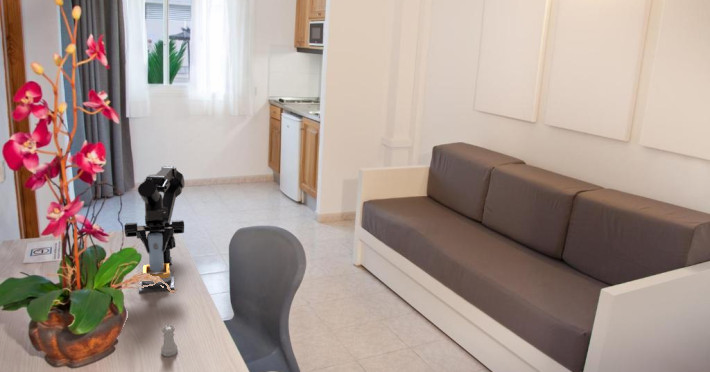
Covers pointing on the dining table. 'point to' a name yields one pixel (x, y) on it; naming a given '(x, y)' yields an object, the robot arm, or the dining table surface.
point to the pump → (156, 252)
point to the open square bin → (164, 275)
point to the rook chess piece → (169, 342)
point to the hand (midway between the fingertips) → (156, 252)
